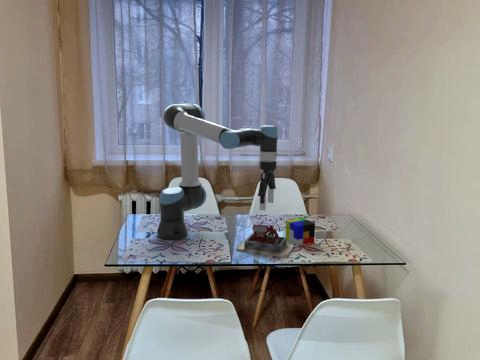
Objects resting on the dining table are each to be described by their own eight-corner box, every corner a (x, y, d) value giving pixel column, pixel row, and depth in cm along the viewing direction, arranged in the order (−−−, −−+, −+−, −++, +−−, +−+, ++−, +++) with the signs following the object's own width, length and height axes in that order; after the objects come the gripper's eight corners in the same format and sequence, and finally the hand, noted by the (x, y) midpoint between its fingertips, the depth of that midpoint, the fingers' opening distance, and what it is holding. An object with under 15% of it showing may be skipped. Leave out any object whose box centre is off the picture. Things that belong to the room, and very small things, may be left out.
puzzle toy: (297, 246, 211) (297, 226, 209) (285, 239, 220) (286, 220, 218) (314, 243, 216) (315, 223, 213) (302, 236, 224) (303, 217, 222)
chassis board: (236, 250, 205) (236, 241, 204) (245, 240, 218) (245, 231, 217) (287, 257, 197) (287, 247, 196) (294, 246, 210) (294, 237, 209)
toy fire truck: (278, 250, 203) (278, 228, 201) (251, 248, 205) (251, 226, 203) (279, 244, 210) (279, 223, 207) (253, 243, 211) (253, 222, 209)
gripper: (269, 165, 186) (267, 214, 190) (282, 156, 209) (281, 200, 213) (251, 164, 188) (250, 212, 193) (267, 155, 211) (266, 198, 216)
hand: (266, 206), depth 203 cm, fingers open, 13 cm apart
